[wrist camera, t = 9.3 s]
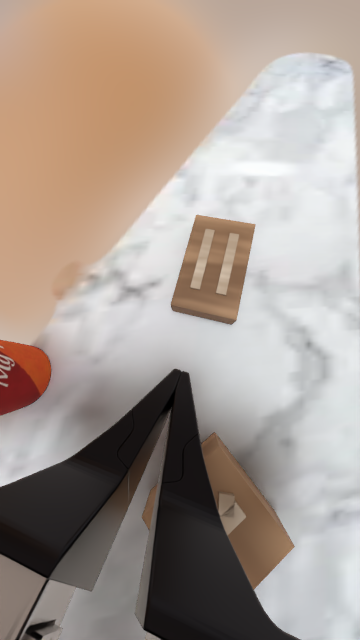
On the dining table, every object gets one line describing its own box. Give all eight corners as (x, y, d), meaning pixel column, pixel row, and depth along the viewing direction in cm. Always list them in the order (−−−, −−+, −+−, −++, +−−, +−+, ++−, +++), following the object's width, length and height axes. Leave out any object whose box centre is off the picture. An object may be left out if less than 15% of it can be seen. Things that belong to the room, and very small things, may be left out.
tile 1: (206, 576, 13) (210, 640, 10) (151, 487, 15) (140, 519, 12) (273, 508, 14) (296, 549, 11) (214, 430, 16) (219, 447, 12)
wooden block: (236, 319, 15) (256, 222, 17) (170, 304, 16) (196, 213, 18) (230, 325, 18) (248, 240, 20) (173, 311, 19) (195, 231, 21)
